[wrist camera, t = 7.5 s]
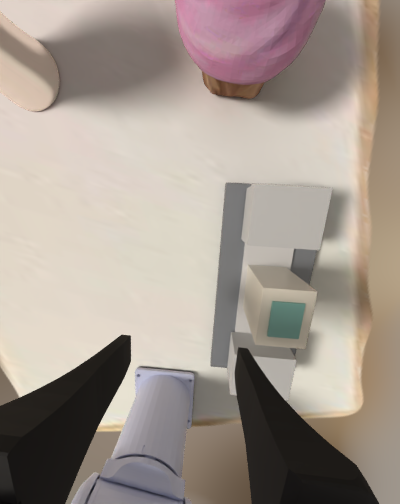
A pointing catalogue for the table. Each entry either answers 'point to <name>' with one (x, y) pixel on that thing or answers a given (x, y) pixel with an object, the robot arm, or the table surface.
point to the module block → (278, 306)
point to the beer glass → (26, 69)
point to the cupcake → (244, 39)
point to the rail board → (263, 254)
